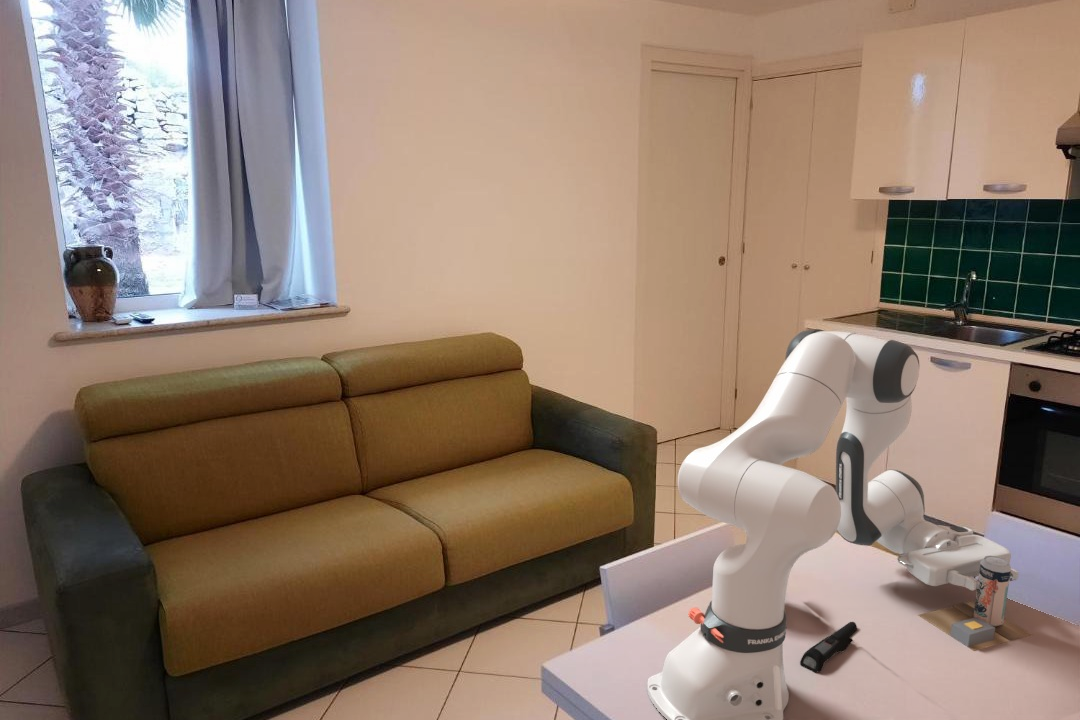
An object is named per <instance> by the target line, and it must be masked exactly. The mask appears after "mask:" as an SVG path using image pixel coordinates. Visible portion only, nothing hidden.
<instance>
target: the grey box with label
mask: <svg viewBox="0 0 1080 720" xmlns="http://www.w3.org/2000/svg"><path fill="white" fill-rule="evenodd" d="M994 633H995V627H993V626H991V625H990V624H988V623H986V622H985V621H983V620H981V619H980V618H978V617H976V618H972V619H968V620H964V621H960V622H956V623H953V624H952V627H951V635H950V636H949V637H951V638H953V639H954V638H955V640H956V641H957V640H958V641H957V642H959V643H960V642H961V645H963V646H965V645H966V646H965V647H967V648H968V647H970V646H973V645H977V644H981V643H984V642H988V641H991V640H994Z"/></svg>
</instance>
